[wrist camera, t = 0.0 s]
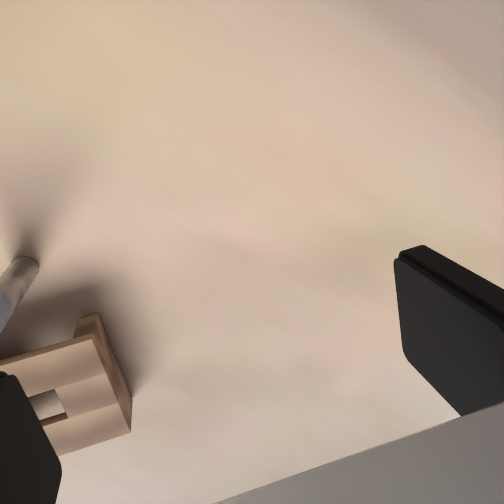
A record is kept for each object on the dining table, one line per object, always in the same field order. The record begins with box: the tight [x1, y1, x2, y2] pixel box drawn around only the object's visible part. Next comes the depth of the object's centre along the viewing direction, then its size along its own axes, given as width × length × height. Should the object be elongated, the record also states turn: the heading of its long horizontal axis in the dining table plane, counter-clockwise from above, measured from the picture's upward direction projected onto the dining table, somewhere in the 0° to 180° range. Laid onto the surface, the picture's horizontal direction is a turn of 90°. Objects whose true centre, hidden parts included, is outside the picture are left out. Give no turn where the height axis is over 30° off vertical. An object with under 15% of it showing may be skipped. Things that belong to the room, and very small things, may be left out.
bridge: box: [0, 313, 132, 456], centre depth 47 cm, size 12×14×6 cm
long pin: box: [0, 256, 39, 333], centre depth 40 cm, size 3×3×12 cm
